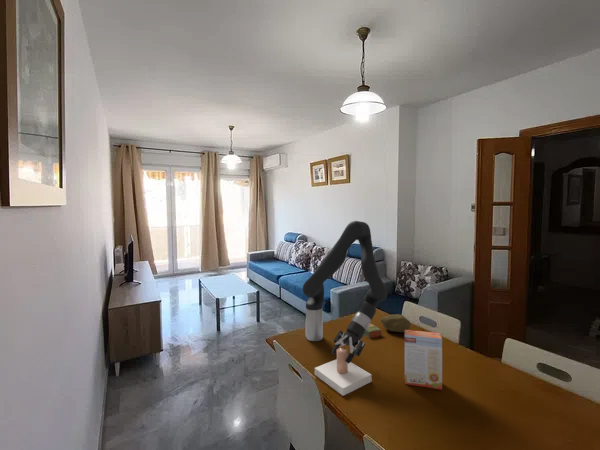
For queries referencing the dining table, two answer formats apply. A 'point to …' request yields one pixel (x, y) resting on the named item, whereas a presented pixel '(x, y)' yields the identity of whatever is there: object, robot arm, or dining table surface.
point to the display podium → (343, 377)
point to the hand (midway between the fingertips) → (339, 358)
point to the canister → (342, 360)
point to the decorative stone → (396, 323)
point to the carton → (372, 331)
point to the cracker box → (423, 359)
